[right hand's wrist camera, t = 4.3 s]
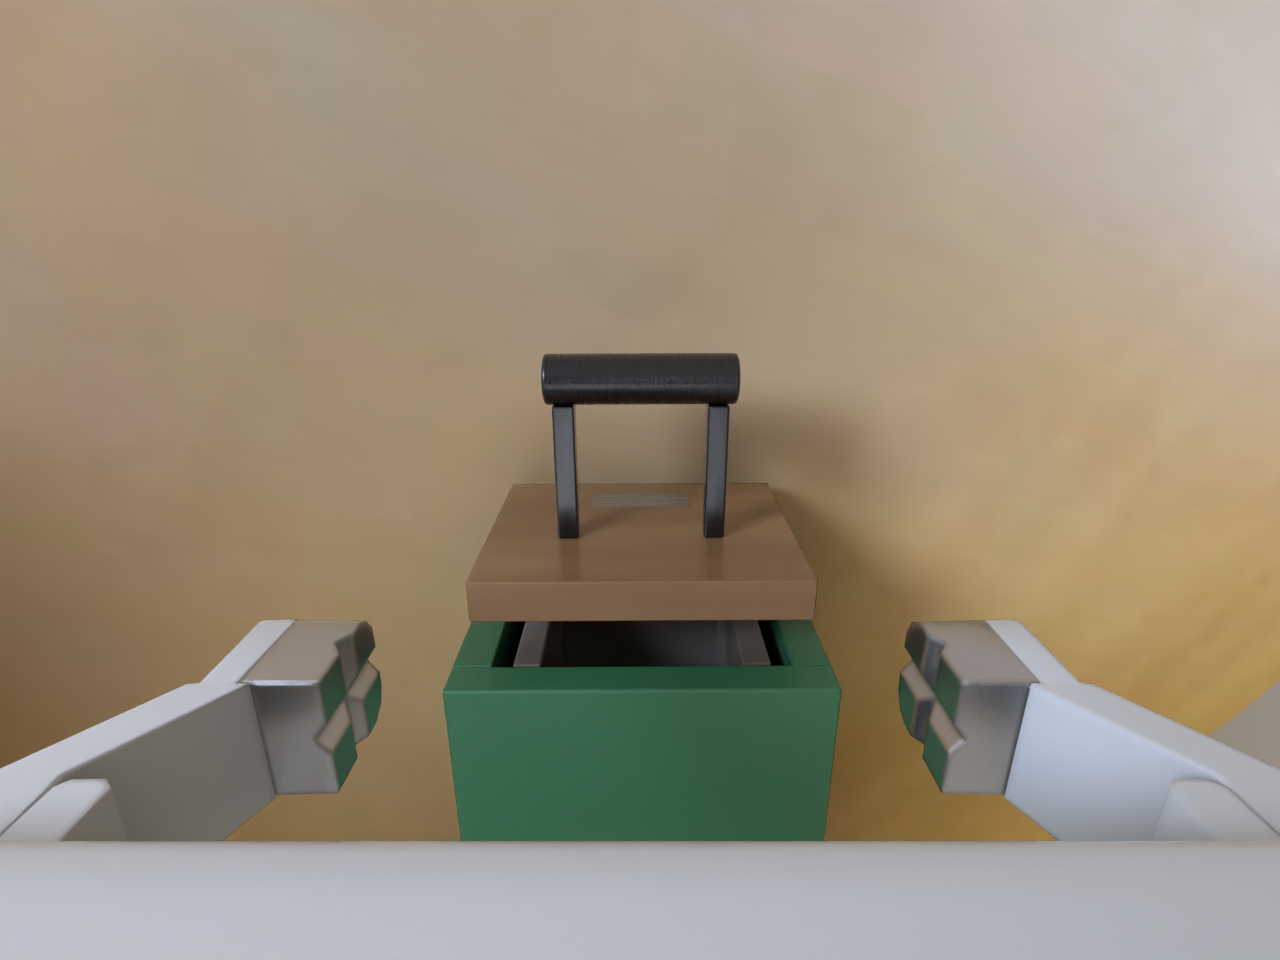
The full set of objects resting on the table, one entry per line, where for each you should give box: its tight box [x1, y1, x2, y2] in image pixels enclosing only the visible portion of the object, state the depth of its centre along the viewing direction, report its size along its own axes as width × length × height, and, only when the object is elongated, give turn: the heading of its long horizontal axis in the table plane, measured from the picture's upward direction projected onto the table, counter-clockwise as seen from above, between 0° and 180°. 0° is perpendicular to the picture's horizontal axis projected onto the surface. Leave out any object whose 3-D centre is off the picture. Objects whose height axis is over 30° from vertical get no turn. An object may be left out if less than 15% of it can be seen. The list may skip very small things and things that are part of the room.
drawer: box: [466, 353, 818, 667], centre depth 23 cm, size 23×9×7 cm, turn 0°
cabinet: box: [443, 620, 842, 841], centre depth 25 cm, size 19×10×9 cm, turn 0°
